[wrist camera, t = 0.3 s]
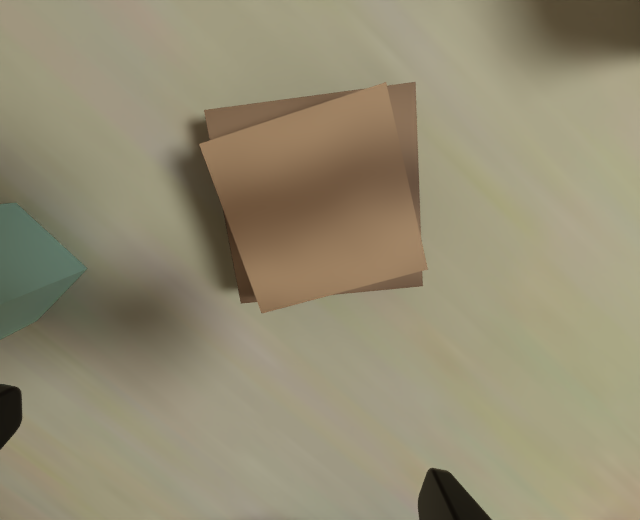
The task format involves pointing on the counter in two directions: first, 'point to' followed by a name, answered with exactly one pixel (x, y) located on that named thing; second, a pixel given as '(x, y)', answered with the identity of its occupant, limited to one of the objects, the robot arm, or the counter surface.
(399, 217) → the top coaster
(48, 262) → the teal block
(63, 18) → the counter surface
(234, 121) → the base plinth
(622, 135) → the counter surface
